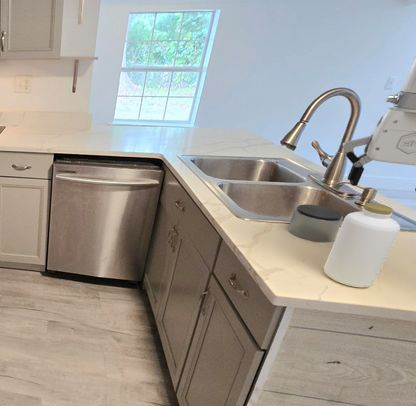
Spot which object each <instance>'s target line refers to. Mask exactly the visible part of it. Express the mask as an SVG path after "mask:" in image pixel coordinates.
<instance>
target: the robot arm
mask: <svg viewBox="0 0 416 406" xmlns="http://www.w3.org/2000/svg"><path fill="white" fill-rule="evenodd" d="M384 103H391V104H392V106H393V107H388V108H387V109H386V110H385V112H384V113H383V114H382V116H381V117H380V119H379V120H378V122H377V123H376V125H375V127H374V128H373V131H372V132H371V134H370V135H369V136H364V137H361V138H357V139H352V140H348V141H345V142H343V143H342V148H343V151H344V156H346V158H347V159H348V160H349V162H351V164H352V166H351V168H350V170H349V173H348V175H347V180H348V181H349V184H350V185H351V187H356V186H358V184H359V182H360V180H361V178H362V175H363V173H364V171H365V168H364V165H366V164H368V163H370V162H372V161H375V162H381V163H389V164H397V165H398V164H399V165H408V166H416V56H415V57H414V59H413V62H412V64H411V65H410V68H409V71H408V73H407V75H406V77H405V79H404V82H403V84H402V87H401V88H400V90H399V91H398V92H397V93H396V94H388V95H387V96H386V98H385V101H384ZM361 146H364V150H363V152H364V153H361V154H360V155H358V156H357V154H355V151H354V149H355V148H359V147H361ZM414 191H415V192H416V187H415V189H414Z"/></svg>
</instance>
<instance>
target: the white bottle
mask: <svg viewBox="0 0 416 406" xmlns="http://www.w3.org/2000/svg"><path fill="white" fill-rule="evenodd" d="M393 212H394V209H393V208H392V207H391V206H388V205H385V204H380V203H373V202H367V203H365V204H364V206H363V207H362V209H361V211H354V212H349V213H348V214H346V216H345V217H343V220H342V223H341V225H340V227H339V230H338V232H337V235H336V237H335V239H334V243H333V245H332V247H331V250H330V252H329V254H328V257H327V259H326V261H325V264H324V266H323V272H324V274H326V276H327V277H328V278H330V279H332V280H333V281H334V282H337V283H339V284H342V285H344V286H349V287H354V288H369V287H371V286H373V285H374V284H375V281H376V280H377V278H378V275H379V274H380V272H381V270H382V267H383V266H384V263H385V261H386V259H387V258H388V255H389V253H390V251H391V249H392V248H393V245H394V244H395V241H396V240H397V237H398V236H399V233H400V231H401V225H400V224H399V222H398V221H396V220H395V219H393V218H391V216H392V215H393Z"/></svg>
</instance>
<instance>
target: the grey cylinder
mask: <svg viewBox="0 0 416 406" xmlns="http://www.w3.org/2000/svg"><path fill="white" fill-rule="evenodd" d="M343 221H344V217H343V215H342V213H341V212H339V211H337V210H335V209H333V208H330V207H327V206H323V205H317V204H299V205H297V206H296V207H295V208H294V210H293V213H292V215H291V218H290V221H289V223H288V226H287V231H288V232H289V233H290V234H291V235H294V236H296V237H298V238H301V239H304V240H308V241H311V242H316V243H331V242H333V241H334V242H335V240H336V238H337V235H338V233H339V230H340V228H341V226H342V223H343Z"/></svg>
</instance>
